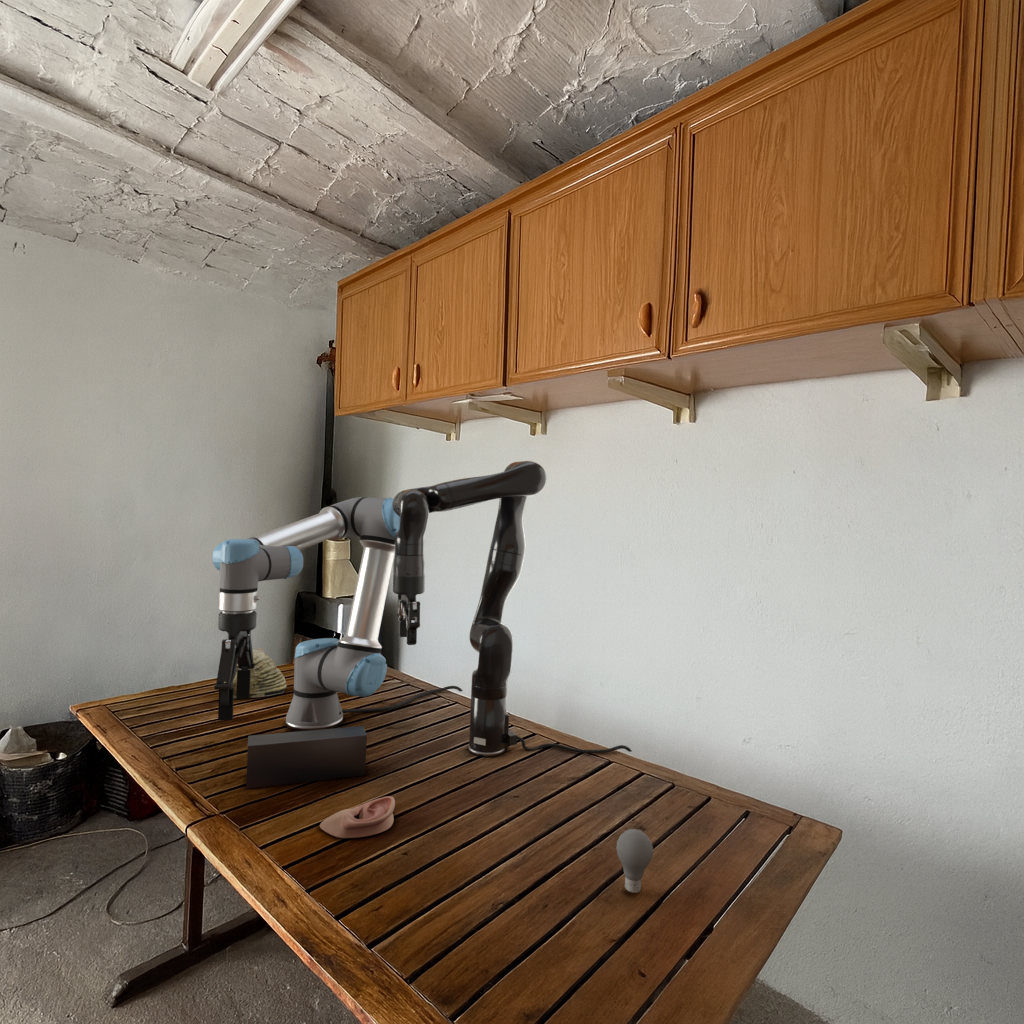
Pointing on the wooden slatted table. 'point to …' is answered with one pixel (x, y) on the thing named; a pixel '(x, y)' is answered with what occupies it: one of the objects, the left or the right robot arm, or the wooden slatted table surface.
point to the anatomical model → (361, 819)
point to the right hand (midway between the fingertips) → (407, 640)
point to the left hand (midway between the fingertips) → (234, 708)
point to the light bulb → (634, 857)
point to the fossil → (263, 676)
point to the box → (305, 756)
